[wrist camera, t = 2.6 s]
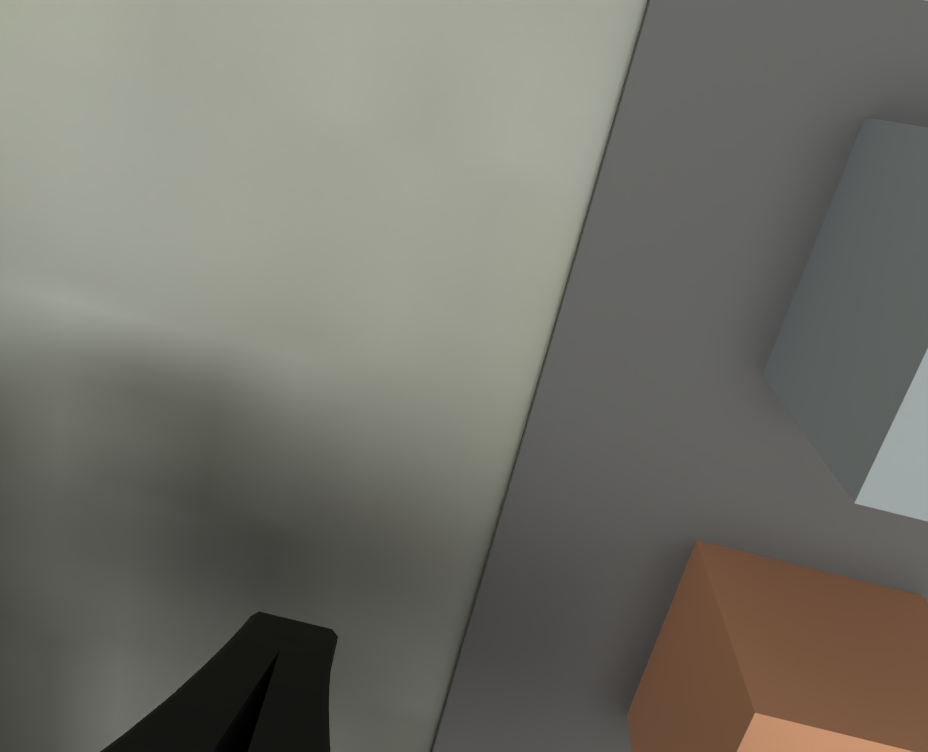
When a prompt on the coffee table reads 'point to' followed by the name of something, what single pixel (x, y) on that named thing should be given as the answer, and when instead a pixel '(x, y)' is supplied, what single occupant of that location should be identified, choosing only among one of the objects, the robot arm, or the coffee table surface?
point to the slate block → (866, 326)
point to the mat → (682, 364)
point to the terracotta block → (783, 662)
